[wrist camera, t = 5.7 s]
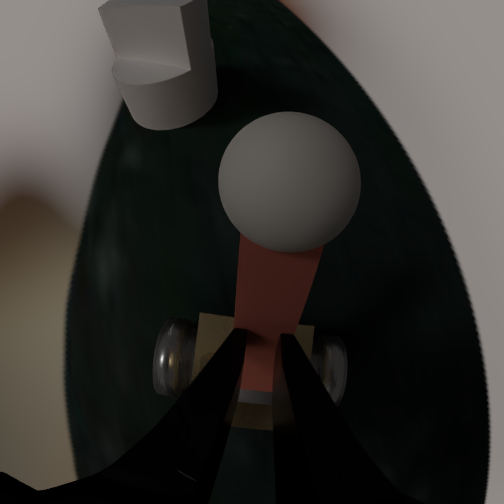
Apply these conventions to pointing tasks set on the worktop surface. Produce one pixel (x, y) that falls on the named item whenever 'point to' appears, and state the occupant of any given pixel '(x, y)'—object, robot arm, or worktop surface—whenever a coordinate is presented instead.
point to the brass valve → (207, 343)
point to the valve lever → (282, 226)
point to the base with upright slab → (162, 59)
